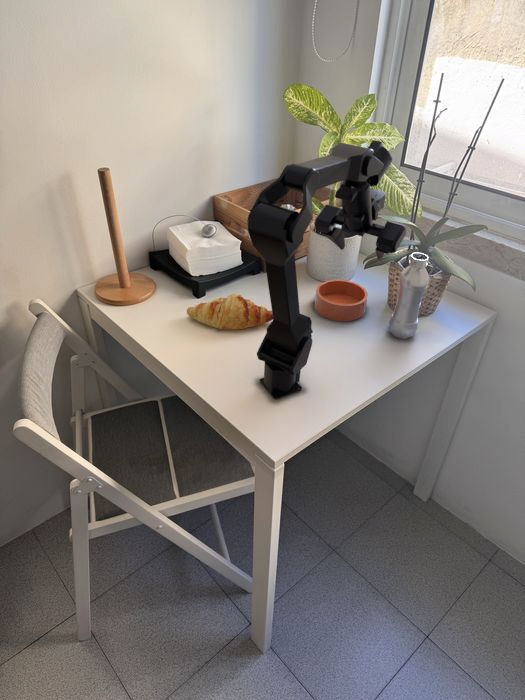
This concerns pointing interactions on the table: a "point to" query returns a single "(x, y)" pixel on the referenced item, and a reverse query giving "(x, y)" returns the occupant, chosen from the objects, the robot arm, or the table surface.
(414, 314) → the plastic bottle
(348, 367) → the table surface
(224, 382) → the table surface
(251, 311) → the croissant
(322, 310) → the bowl
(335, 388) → the table surface
